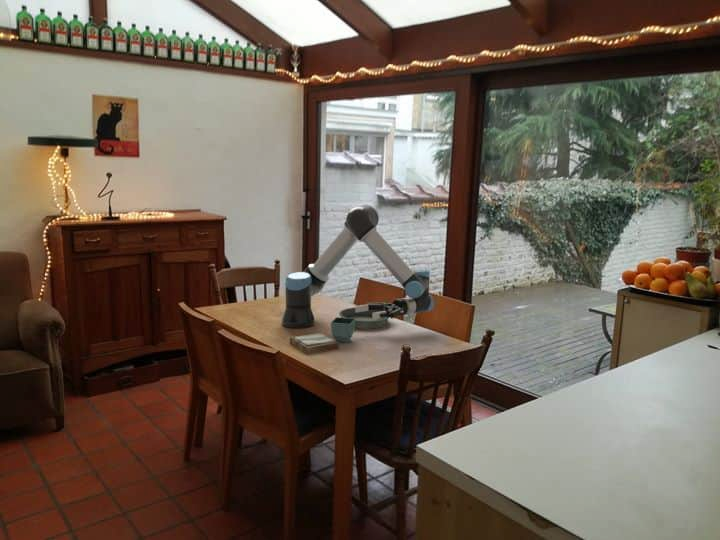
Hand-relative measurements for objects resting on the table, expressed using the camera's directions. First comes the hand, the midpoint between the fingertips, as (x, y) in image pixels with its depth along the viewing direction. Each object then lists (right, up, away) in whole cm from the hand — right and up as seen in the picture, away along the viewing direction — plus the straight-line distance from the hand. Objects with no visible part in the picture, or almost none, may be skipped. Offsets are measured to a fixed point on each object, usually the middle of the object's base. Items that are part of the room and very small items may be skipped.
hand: (363, 312), depth 255 cm
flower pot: (-9, -12, -3) cm, 15 cm away
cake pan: (0, -7, +26) cm, 27 cm away
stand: (-21, -13, -10) cm, 27 cm away
